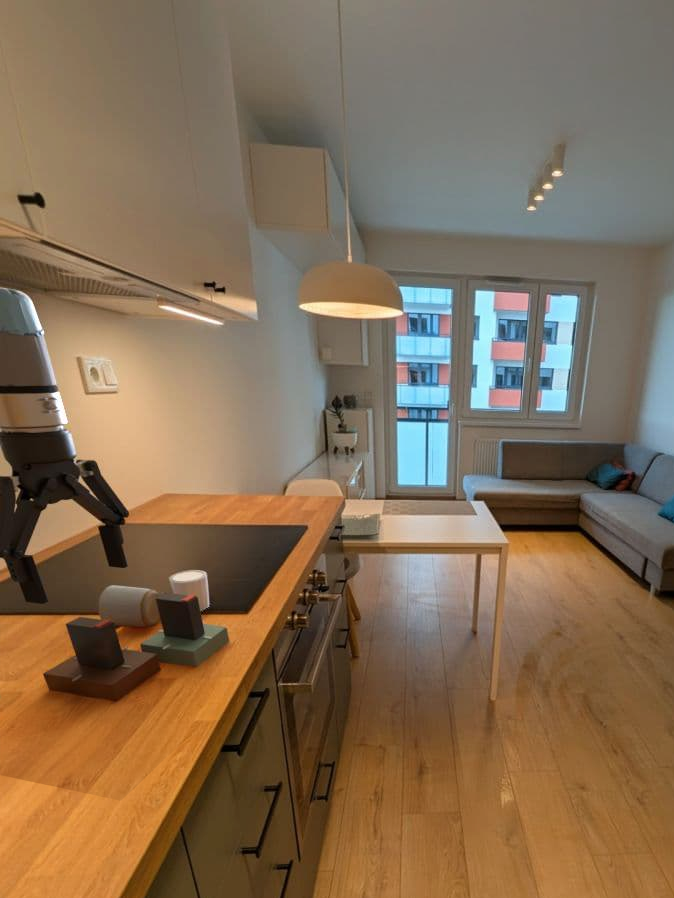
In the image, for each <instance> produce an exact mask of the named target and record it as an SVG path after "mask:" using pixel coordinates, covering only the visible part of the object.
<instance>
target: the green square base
mask: <svg viewBox="0 0 674 898" xmlns="http://www.w3.org/2000/svg"><path fill="white" fill-rule="evenodd" d="M202 621H203V626H204V631H205V634H203V635H202V636H201V637H199V638H198V639H196V640H191V639H184V638H177V637H170V636H164V631H163V629H160V630H157V633H155V634H153V635H152V636H150V637H148V638H147V639H145V640H144V641H142V642H140V644H139V645H140V650H141V652H147V653H154V654H157V656H158V660H159V663H166V664H173V665H179V666H185V667H193V668H198V667H199V666H200V665H202V664H203V663H204V662H205V661H207V660H208V658H210V657H211V656H213V655H214V654H216V653H217V652H218V651H219V650H220V649H222V648H223V647H224V646H225V645H227V644H228V643H229V642H230V637H229V632H228V627H227V626H225V625H216V624H208V623H206V620H202Z"/></svg>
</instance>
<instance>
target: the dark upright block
mask: <svg viewBox="0 0 674 898" xmlns="http://www.w3.org/2000/svg"><path fill="white" fill-rule="evenodd" d="M156 602H157V606H158V611H159V615H160V619H159V620H160V623H161V627H162V630H163V631H164V636H170V637H177V638H184V639H191V640H196V639H198V638H199V637H201V636H202V635H203V634H205V631H204V626H203V624H204V623H203V621H204V620H203V617H202V612H200V607H199V602H198V597H196V595H189V596H188V595H180V594H174V593H173V592H172V593H171V592H165V593H163V594H161V595H160V596H159V597H158V598H156Z"/></svg>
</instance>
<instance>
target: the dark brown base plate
mask: <svg viewBox="0 0 674 898" xmlns="http://www.w3.org/2000/svg"><path fill="white" fill-rule="evenodd" d="M128 648H129V646H128V645H127V646H125V647H123V648H121V650H122V653H123V657H124V660H125V662H123V663H121V664H120V665H118V666H117V667H115V668H114V669H112V670H111V669H105V668H99V667H92V666H86V665H80V664H78V661H77V658H76V654H74V655H73V656H71V657H69V658H67V659H65V660H63V661H62V662H60V663H59V664H57V665H55V666H53V667H52V668H50V669H48V670H46V671H44V672H43V673H42V675H43V677H44V681H45V683H46V686H47V689H48V691H52V692H58V693H65V694H69V695H75V696H82V697H85V698H94V699H99V700H105V701H109V702H118V701H120V700H121V699H123V698H124V697H126V696H127V695H128V694H130V693H131V692H133V691H134V690H135V689H137V688H138V687H139V686H141V685H142V684H143V683H145V682H146V681H148V680H149V679H151V678H152V677H153V676H154V675H156V674H157V673H158V672H160V671H162V668H161V663H160V662H159V660H158V656H157V654H154V653H147V652H142V650H141V651H139V650H133V649H128Z"/></svg>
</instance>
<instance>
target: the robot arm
mask: <svg viewBox="0 0 674 898" xmlns="http://www.w3.org/2000/svg"><path fill="white" fill-rule="evenodd" d="M38 316H39V315H38V314H37V311H36V308H35V305H34V303H33V301H32V299H31V298H30V296H29V295H28V294H26V293H24V292H23V291H20V290H17V289H14V288H8V287H2V286H1V287H0V449H1V452H2V455H3V458H4V460H5V461H6V462H7V463H8V464H9V466H10V467H11V475H0V559H3V560H4V562H5V565H6V567H7V571H8V573H9V575H10V578H11V580H12V581H13V582H15V583H16V582H17V583H18V585H19V586H20V589H21V592H22V594H23V598H24V601H25V602H26V603H30V604H31V603H32V604H40V605H44V604H46V603H49V600H48V597H47V595H46V594H47V593H46V591H45V587H44V585H43V583H42V579H41V577H40V575H39V570H38V568H37V565H36V562H35V559H34V556H33V555H31V554H26V552H27V549H28V547H29V545H30V542H31V539H32V538H33V537H32V536H33V534H34V532H35V529H36V526H37V524H38V522H39V519H40V517H41V514H42V512H43V511H44V510H46V509H47V507H48V505H54V504H57V503H59V502H60V501H69V500H71V501H74V502H75V504H78V505H79V506H80V507H81V508H83V510H85V511H86V512H88V513H89V514H90V515H92V516H93V517H94V518H95V519H97V520H98V521H99V522H101V523H102V524H100V525H98V526H97V529H98V532H99V536H100V539H101V542H102V546H103V547H102V548H103V549H104V554H105V557H106V560H107V563H108V564H107V565H108V567H109V568H119V569H125V568H128V567H129V566H128V562H127V559H126V555H125V551H124V548H123V545H124V542H125V540H124V537H123V532H122V529H121V526H124V525H125V524H126V519H127V518H129V516H130V512H129V510H128V509H127V507H126V506H125V505H124V504H123V502H122V501H121V499H120V498H119V497H118V495H117V494H116V493H115V491H114V490H113V488H112V487H111V486H110V484H109V483H108V482H107V480H106V479H105V478H104V476H103V475H102V473H101V469H100V468H99V464H98V462H97V461H96V460H94V459H81V458H80V459H76V461H75V458H77V455H78V454H77V450H76V446H75V443H74V439H73V436H72V432H71V431H69V430H68V429H67V428H64V426H67V424H68V419H67V416H66V411H65V408H64V404H63V401H62V397H61V393H60V392H59V387H58V384H57V380H56V376H55V371H54V368H53V365H52V361H51V357H50V354H49V350H48V347H47V343H46V339H45V336H44V335H45V330H44V329H43V328H42V325H41V323H40V320H39V317H38ZM80 477H81V479H82V481H83V482H84V484H85V485H86V486H87V487H86V486H85V485H83V484H82V483H81V482H80V481H79V480H80ZM88 488H89V489H88ZM17 492H18V494H16V493H17Z"/></svg>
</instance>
